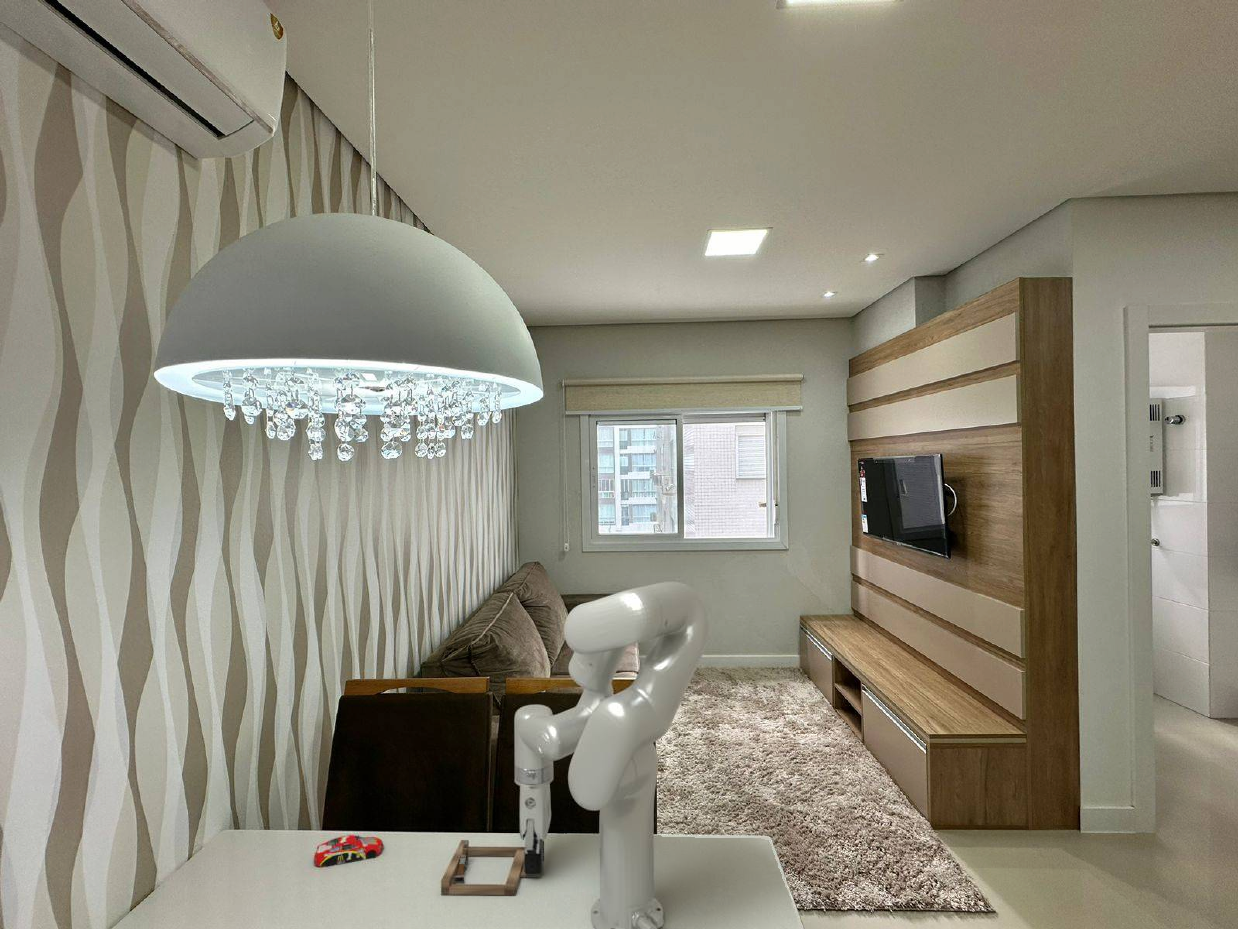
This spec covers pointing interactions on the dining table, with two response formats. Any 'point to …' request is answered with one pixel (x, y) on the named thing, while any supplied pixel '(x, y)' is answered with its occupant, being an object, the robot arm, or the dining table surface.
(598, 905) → the robot arm
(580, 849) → the dining table surface
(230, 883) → the dining table surface
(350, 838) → the race car
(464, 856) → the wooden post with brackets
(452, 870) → the brown hollow square frame
